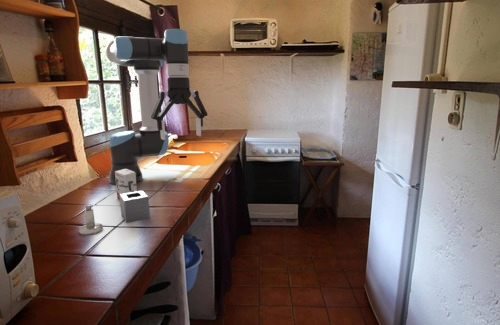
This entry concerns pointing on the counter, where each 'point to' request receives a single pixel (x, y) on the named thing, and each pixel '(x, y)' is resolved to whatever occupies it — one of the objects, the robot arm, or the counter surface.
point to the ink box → (125, 181)
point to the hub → (90, 223)
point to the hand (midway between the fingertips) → (181, 137)
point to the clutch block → (134, 206)
